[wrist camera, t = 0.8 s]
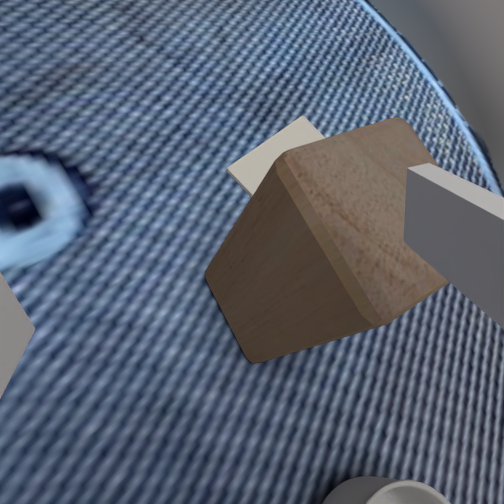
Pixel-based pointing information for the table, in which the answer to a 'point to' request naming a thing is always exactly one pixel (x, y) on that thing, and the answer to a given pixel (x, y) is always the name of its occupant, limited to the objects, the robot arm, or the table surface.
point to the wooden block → (324, 244)
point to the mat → (271, 153)
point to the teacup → (383, 492)
